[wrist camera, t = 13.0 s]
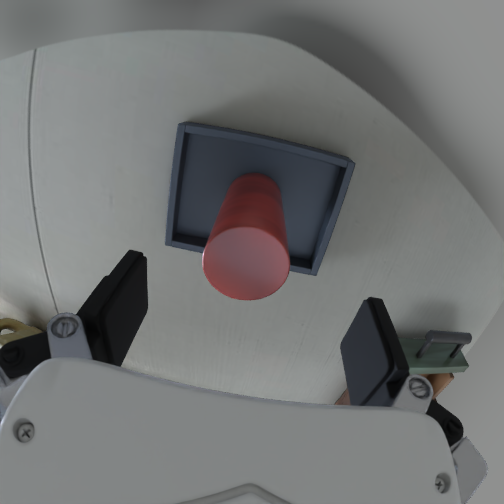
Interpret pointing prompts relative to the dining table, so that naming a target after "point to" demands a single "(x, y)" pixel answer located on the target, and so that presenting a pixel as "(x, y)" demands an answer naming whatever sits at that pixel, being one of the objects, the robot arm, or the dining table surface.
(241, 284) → the red tall cylinder
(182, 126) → the tray
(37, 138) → the dining table surface
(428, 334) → the drawer
